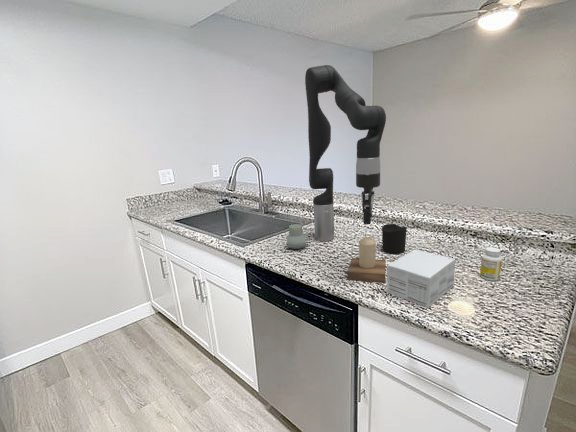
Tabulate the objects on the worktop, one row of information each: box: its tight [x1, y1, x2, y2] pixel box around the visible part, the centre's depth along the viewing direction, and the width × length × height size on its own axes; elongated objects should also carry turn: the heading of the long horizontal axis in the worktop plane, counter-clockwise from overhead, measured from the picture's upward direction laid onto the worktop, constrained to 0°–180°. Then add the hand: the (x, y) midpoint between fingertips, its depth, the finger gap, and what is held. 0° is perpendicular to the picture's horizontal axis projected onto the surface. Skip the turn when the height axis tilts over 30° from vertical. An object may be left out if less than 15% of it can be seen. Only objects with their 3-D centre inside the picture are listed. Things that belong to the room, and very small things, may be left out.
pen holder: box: [381, 223, 408, 255], centre depth 124 cm, size 9×9×10 cm
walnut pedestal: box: [347, 257, 387, 284], centre depth 106 cm, size 12×12×3 cm
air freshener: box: [286, 223, 307, 250], centre depth 135 cm, size 11×8×10 cm
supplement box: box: [386, 249, 456, 309], centre depth 92 cm, size 17×13×9 cm
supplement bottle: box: [479, 246, 503, 282], centre depth 97 cm, size 5×5×10 cm
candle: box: [358, 236, 377, 268], centre depth 104 cm, size 6×6×10 cm
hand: (367, 220), depth 101 cm, fingers open, 8 cm apart
